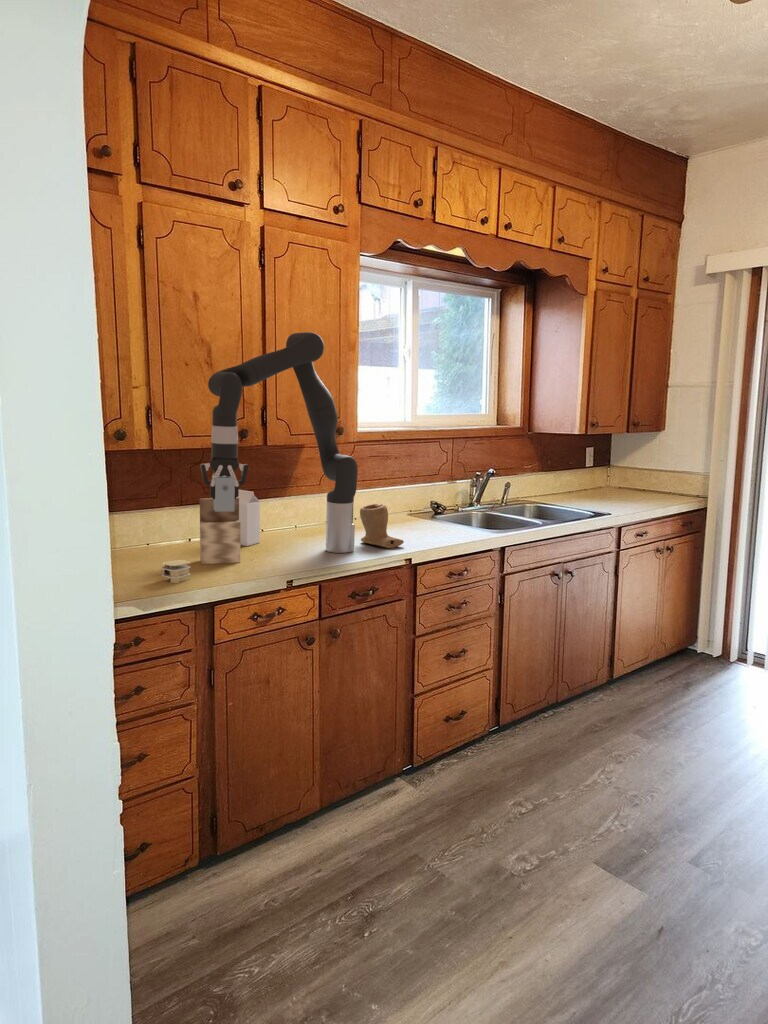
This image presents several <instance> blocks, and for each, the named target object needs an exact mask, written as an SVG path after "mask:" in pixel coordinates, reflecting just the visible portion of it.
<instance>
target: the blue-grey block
mask: <svg viewBox="0 0 768 1024" xmlns="http://www.w3.org/2000/svg"><path fill="white" fill-rule="evenodd" d="M234 505H235V478H232V477H231V476H219V477H218V478H215V499H214V507H213V508H214V510H215V512H222V511H234Z"/></svg>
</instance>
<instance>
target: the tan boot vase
mask: <svg viewBox="0 0 768 1024" xmlns="http://www.w3.org/2000/svg"><path fill="white" fill-rule="evenodd" d="M359 509H360V510H359V516H360V519H361V523H362V525H363V528H364V531H365V536H363V537H361V538H360V541H361V542H363V543H366V544H370V545H374V546H377V547H381V548H382V547H383V548H387V549H393V548H397V547H400V546H401V545H403V544H404V540H403V539H400V538H397V537H392V536H389V535H388V533H387V529H388V521H389V510H388V507H387V506H386V504H385V503H381V504H377V503H372V504H367V505H364V506H361V507H360V508H359Z"/></svg>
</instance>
